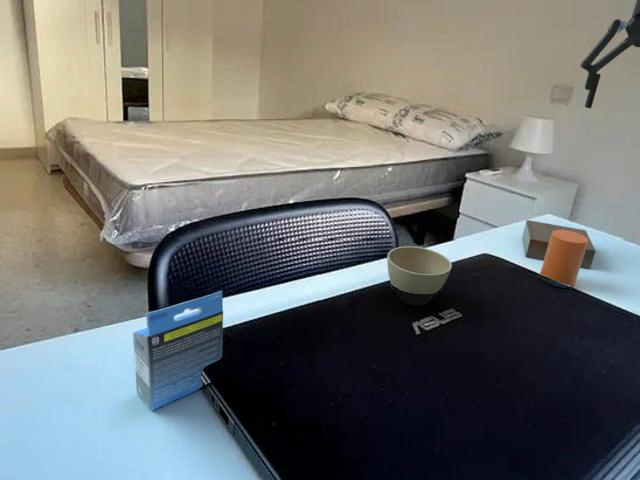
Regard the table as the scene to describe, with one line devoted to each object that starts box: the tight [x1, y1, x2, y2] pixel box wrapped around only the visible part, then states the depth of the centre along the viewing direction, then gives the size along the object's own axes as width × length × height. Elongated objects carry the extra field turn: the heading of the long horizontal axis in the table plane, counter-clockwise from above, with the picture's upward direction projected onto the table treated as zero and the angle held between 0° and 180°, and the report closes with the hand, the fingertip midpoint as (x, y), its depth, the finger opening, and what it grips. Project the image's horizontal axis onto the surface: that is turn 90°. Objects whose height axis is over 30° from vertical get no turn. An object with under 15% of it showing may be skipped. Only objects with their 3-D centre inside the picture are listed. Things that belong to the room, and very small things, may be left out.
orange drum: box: [539, 230, 589, 288], centre depth 90 cm, size 6×6×9 cm
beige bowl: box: [386, 245, 453, 295], centre depth 80 cm, size 10×10×7 cm
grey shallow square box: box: [522, 219, 596, 270], centre depth 104 cm, size 12×12×4 cm
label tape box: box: [132, 290, 224, 411], centre depth 55 cm, size 9×4×12 cm, turn 133°
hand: (624, 111), depth 100 cm, fingers open, 13 cm apart
